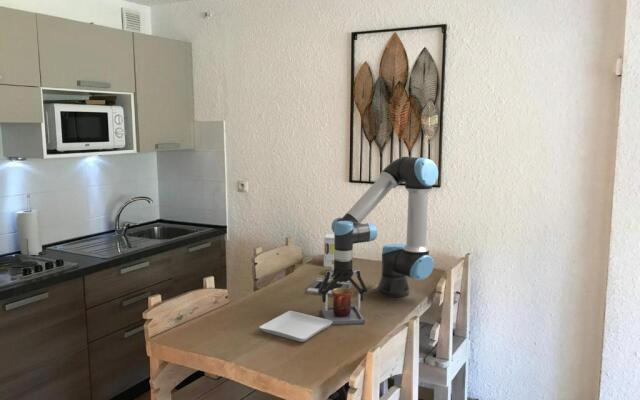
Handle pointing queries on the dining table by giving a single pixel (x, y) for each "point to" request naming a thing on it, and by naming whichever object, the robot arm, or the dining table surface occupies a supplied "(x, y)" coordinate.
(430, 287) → the dining table surface
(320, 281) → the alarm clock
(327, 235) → the supplement box
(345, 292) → the mug
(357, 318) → the rest tray
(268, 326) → the salad plate
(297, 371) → the dining table surface
